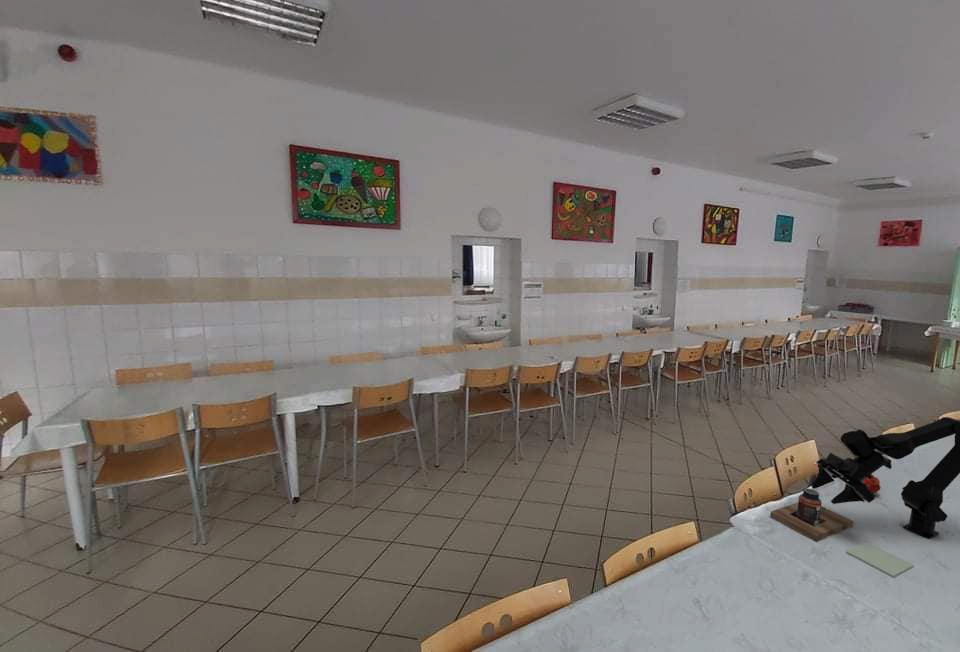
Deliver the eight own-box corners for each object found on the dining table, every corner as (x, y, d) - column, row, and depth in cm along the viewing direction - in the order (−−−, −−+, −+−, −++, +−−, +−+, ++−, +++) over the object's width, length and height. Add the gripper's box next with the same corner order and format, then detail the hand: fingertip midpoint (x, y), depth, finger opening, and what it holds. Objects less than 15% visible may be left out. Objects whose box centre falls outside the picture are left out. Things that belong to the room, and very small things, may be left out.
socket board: (805, 504, 152) (806, 499, 152) (852, 526, 140) (853, 521, 139) (770, 517, 144) (770, 511, 144) (816, 541, 131) (817, 535, 131)
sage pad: (866, 543, 131) (866, 541, 131) (913, 566, 121) (913, 564, 121) (845, 552, 127) (846, 550, 126) (893, 577, 117) (893, 575, 117)
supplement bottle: (822, 529, 137) (827, 497, 136) (801, 527, 139) (806, 495, 137) (812, 519, 143) (816, 487, 142) (792, 516, 144) (796, 485, 143)
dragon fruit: (847, 497, 160) (869, 497, 164) (872, 494, 153) (894, 495, 157) (838, 474, 164) (859, 474, 168) (861, 470, 157) (883, 470, 161)
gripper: (826, 435, 145) (787, 464, 148) (870, 460, 127) (825, 492, 130) (847, 459, 146) (808, 486, 148) (894, 487, 127) (849, 518, 130)
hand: (821, 494), depth 139 cm, fingers open, 9 cm apart
